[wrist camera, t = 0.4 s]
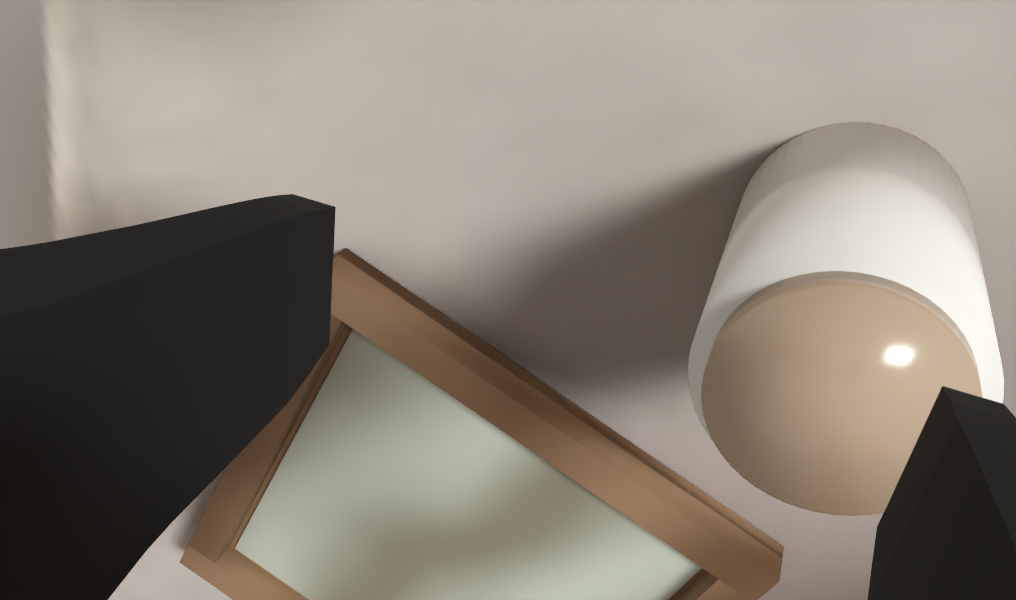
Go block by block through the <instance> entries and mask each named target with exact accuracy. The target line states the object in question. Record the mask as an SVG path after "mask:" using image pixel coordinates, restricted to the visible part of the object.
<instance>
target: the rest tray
mask: <svg viewBox="0 0 1016 600" xmlns="http://www.w3.org/2000/svg"><path fill="white" fill-rule="evenodd" d="M783 549H784V547H783V546H782V545H780V544H779V543H777V542H776V541H774V540H773V539H772V538H770V537H769V536H767V535H766V534H764V533H763V532H761V531H760V530H758V529H757V528H755V527H754V526H752V525H751V524H750V523H748V522H747V521H745V520H744V519H742V518H741V517H739V516H738V515H736V514H735V513H733V512H732V511H731V510H729V509H728V508H726V507H725V506H723V505H722V504H720V503H719V502H717V501H716V500H714V499H713V498H711V497H710V496H709V495H707V494H706V493H704V492H703V491H701V490H700V489H698V488H697V487H695V486H694V485H692V484H691V483H690V482H688V481H687V480H685V479H684V478H682V477H681V476H679V475H678V474H676V473H675V472H673V471H672V470H670V469H669V468H668V467H666V466H665V465H663V464H662V463H660V462H659V461H657V460H656V459H654V458H653V457H651V456H650V455H649V454H647V453H646V452H644V451H643V450H641V449H640V448H638V447H637V446H635V445H634V444H632V443H631V442H629V441H628V440H627V439H625V438H624V437H622V436H621V435H619V434H618V433H616V432H615V431H613V430H612V429H610V428H609V427H608V426H606V425H605V424H603V423H602V422H600V421H599V420H597V419H596V418H594V417H593V416H591V415H590V414H588V413H587V412H586V411H584V410H583V409H581V408H580V407H578V406H577V405H575V404H574V403H572V402H571V401H569V400H568V399H567V398H565V397H564V396H562V395H561V394H559V393H558V392H556V391H555V390H553V389H552V388H550V387H549V386H548V385H546V384H545V383H543V382H542V381H540V380H539V379H537V378H536V377H534V376H533V375H531V374H530V373H528V372H527V371H526V370H524V369H523V368H521V367H520V366H518V365H517V364H515V363H514V362H512V361H511V360H509V359H508V358H507V357H505V356H504V355H502V354H501V353H499V352H498V351H496V350H495V349H493V348H492V347H490V346H489V345H487V344H486V343H485V342H483V341H482V340H480V339H479V338H477V337H476V336H474V335H473V334H471V333H470V332H468V331H467V330H466V329H464V328H463V327H461V326H460V325H458V324H457V323H455V322H454V321H452V320H451V319H449V318H448V317H446V316H445V315H444V314H442V313H441V312H439V311H438V310H436V309H435V308H433V307H432V306H430V305H429V304H427V303H426V302H425V301H423V300H422V299H420V298H419V297H417V296H416V295H414V294H413V293H411V292H410V291H408V290H407V289H405V288H404V287H403V286H401V285H400V284H398V283H397V282H395V281H394V280H392V279H391V278H389V277H388V276H386V275H385V274H384V273H382V272H381V271H379V270H378V269H376V268H375V267H373V266H372V265H370V264H369V263H367V262H366V261H364V260H363V259H362V258H360V257H359V256H357V255H356V254H354V253H353V252H351V251H350V250H348V249H347V248H345V249H344V250H343V251H342V252H341V253H340V254H338V255H337V256H336V257H335V258H334V259H333V274H332V297H331V320H330V343H329V346H328V348H327V349H326V351H325V352H324V353H323V355H322V356H321V358H320V359H319V361H318V362H317V364H316V365H315V366H314V368H313V369H312V371H311V372H310V374H309V375H308V377H307V378H306V379H305V381H304V382H303V383H302V385H301V386H300V387H299V389H298V390H297V391H296V393H295V394H294V395H293V397H292V398H291V399H290V401H289V402H288V403H287V404H286V405H285V406H284V408H283V409H282V410H281V411H280V412H279V413H278V414H277V415H276V416H275V417H274V418H273V419H272V420H271V421H270V422H269V423H268V424H267V425H266V426H265V428H264V429H263V430H262V431H261V432H260V433H259V434H258V435H257V436H256V437H255V438H254V439H253V440H252V441H251V442H250V443H249V444H248V445H247V446H246V447H245V448H244V449H243V450H242V451H241V452H240V453H239V454H238V455H237V456H236V457H235V458H234V459H233V460H232V461H231V462H230V463H229V464H228V465H227V467H226V468H225V470H224V472H223V474H222V476H221V478H220V480H219V482H218V484H217V486H216V488H215V490H214V492H213V495H212V497H211V499H210V501H209V503H208V505H207V507H206V509H205V511H204V513H203V515H202V517H201V519H200V521H199V523H198V525H197V527H196V530H195V532H194V534H193V536H192V538H191V540H190V542H189V544H188V546H187V548H186V550H185V552H184V554H183V556H182V558H181V560H180V563H181V564H183V565H184V566H186V567H187V568H188V569H190V570H191V571H193V572H194V573H196V574H197V575H199V576H200V577H201V578H203V579H204V580H206V581H207V582H209V583H210V584H211V585H213V586H214V587H216V588H217V589H219V590H220V591H222V592H223V593H224V594H226V595H227V596H229V597H230V598H232V599H233V600H758V599H759V598H760V597H761V596H762V595H764V594H765V593H766V592H767V591H768V590H770V589H771V588H772V587H773V586H774V585H775V584H777V583H778V582H779V579H780V572H781V564H782V557H783Z"/></svg>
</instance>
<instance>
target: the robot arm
mask: <svg viewBox="0 0 1016 600" xmlns="http://www.w3.org/2000/svg"><path fill="white" fill-rule="evenodd" d="M334 227H335V207H334V206H330V205H327V204H323V203H320V202H317V201H313V200H310V199H306V198H303V197H300V196H296V195H293V194H290V195H279V196H271V197H264V198H258V199H253V200H248V201H243V202H238V203H233V204H228V205H224V206H219V207H215V208H210V209H206V210H201V211H197V212H193V213H188V214H184V215H179V216H175V217H170V218H166V219H162V220H157V221H153V222H148V223H144V224H139V225H135V226H130V227H125V228H119V229H114V230H109V231H104V232H99V233H94V234H88V235H83V236H78V237H73V238H68V239H63V240H58V241H52V242H46V243H40V244H35V245H28V246H21V247H14V248H7V249H0V600H108V598H109V597H110V596H111V595H112V593H113V592H114V591H115V590H116V588H117V587H118V586H119V584H120V583H121V582H122V581H123V579H124V578H125V577H126V576H127V574H128V573H129V572H130V571H131V569H132V568H133V567H134V565H135V564H136V563H137V562H138V560H139V559H140V558H141V557H142V555H143V554H144V553H145V552H146V550H147V549H148V548H149V547H150V546H151V545H152V544H153V542H154V541H155V540H156V539H157V538H158V537H159V536H160V535H161V534H162V532H163V531H164V530H165V529H166V528H167V527H168V526H169V525H170V524H171V522H172V521H173V520H174V519H175V518H176V517H177V516H178V515H179V514H180V513H181V512H182V511H183V510H184V509H185V508H186V507H187V506H188V505H189V504H190V503H191V502H192V501H193V500H194V499H195V498H196V497H197V496H198V495H199V494H200V493H201V492H202V491H203V490H204V489H205V488H206V487H207V486H208V485H209V484H210V483H211V482H212V481H213V480H214V479H215V478H216V477H217V476H218V475H219V474H220V473H221V472H222V471H223V470H224V469H225V468H226V467H227V465H228V464H229V463H230V462H231V461H232V460H233V459H234V458H235V457H236V456H237V455H238V454H239V453H240V452H241V451H242V450H243V449H244V448H245V447H246V446H247V445H248V444H249V443H250V442H251V441H252V440H253V439H254V438H255V437H256V436H257V435H258V434H259V433H260V432H261V431H262V430H263V429H264V428H265V426H266V425H267V424H268V423H269V422H270V421H271V420H272V419H273V418H274V417H275V416H276V415H277V414H278V413H279V412H280V411H281V410H282V409H283V408H284V406H285V405H286V404H287V403H288V402H289V401H290V399H291V398H292V397H293V395H294V394H295V393H296V391H297V390H298V389H299V387H300V386H301V385H302V383H303V382H304V381H305V379H306V378H307V377H308V375H309V374H310V372H311V371H312V369H313V368H314V366H315V365H316V364H317V362H318V361H319V359H320V358H321V356H322V355H323V353H324V352H325V351H326V349H327V348H328V346H329V343H330V320H331V297H332V274H333V251H334ZM868 600H1016V418H1015V416H1014V415H1013V414H1012V413H1011V412H1010V411H1009V409H1008V408H1007V407H1006V406H1005V405H1004V404H1002V403H999V402H995V401H992V400H989V399H985V398H982V397H979V396H975V395H972V394H968V393H965V392H962V391H958V390H955V389H951V388H948V387H945V386H942V388H941V390H940V392H939V394H938V396H937V399H936V401H935V403H934V405H933V407H932V409H931V412H930V414H929V416H928V418H927V420H926V422H925V425H924V427H923V429H922V431H921V433H920V435H919V438H918V440H917V442H916V444H915V446H914V448H913V451H912V453H911V455H910V457H909V459H908V462H907V464H906V466H905V468H904V470H903V472H902V475H901V477H900V479H899V481H898V483H897V485H896V488H895V490H894V492H893V494H892V496H891V498H890V501H889V503H888V505H887V507H886V509H885V511H884V514H883V516H882V518H881V520H880V522H879V524H878V527H877V532H876V540H875V547H874V554H873V562H872V569H871V577H870V586H869V595H868Z"/></svg>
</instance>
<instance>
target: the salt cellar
mask: <svg viewBox="0 0 1016 600" xmlns="http://www.w3.org/2000/svg"><path fill="white" fill-rule="evenodd" d="M688 382H689V388H690V395H691V398H692V402H693V405H694V408H695V411H696V413H697V415H698V417H699V420H700V422H701V424H702V426H703V427H704V429H705V430H706V432H707V434H708V435H709V437H710V438H711V440H712V441H713V442H714V444H715V445H716V447H717V448H718V450H719V451H720V453H721V454H722V456H723V457H724V458H725V459H726V461H727V462H728V463H729V464H730V465H731V466H732V467H733V468H734V469H735V470H736V471H737V472H738V473H739V474H740V475H741V476H742V477H743V478H745V479H746V480H747V481H748V482H750V483H751V484H752V485H754V486H755V487H757V488H758V489H760V490H762V491H763V492H765V493H767V494H768V495H770V496H772V497H774V498H776V499H778V500H781V501H783V502H785V503H788V504H791V505H793V506H796V507H799V508H802V509H806V510H810V511H814V512H819V513H826V514H832V515H848V516H855V515H871V514H878V513H884V511H885V509H886V507H887V505H888V503H889V501H890V498H891V496H892V494H893V492H894V490H895V488H896V485H897V483H898V481H899V479H900V477H901V475H902V472H903V470H904V468H905V466H906V464H907V462H908V459H909V457H910V455H911V453H912V451H913V448H914V446H915V444H916V442H917V440H918V438H919V435H920V433H921V431H922V429H923V427H924V425H925V422H926V420H927V418H928V416H929V414H930V412H931V409H932V407H933V405H934V403H935V401H936V399H937V396H938V394H939V392H940V390H941V388H942V386H945V387H948V388H951V389H955V390H958V391H962V392H965V393H968V394H972V395H975V396H979V397H982V398H985V399H989V400H992V401H995V402H999V403H1002V402H1003V397H1004V376H1003V370H1002V363H1001V358H1000V353H999V348H998V343H997V338H996V333H995V328H994V323H993V318H992V314H991V309H990V304H989V299H988V294H987V289H986V284H985V279H984V274H983V269H982V264H981V259H980V254H979V249H978V244H977V239H976V234H975V230H974V225H973V220H972V215H971V210H970V205H969V200H968V197H967V194H966V191H965V188H964V186H963V184H962V182H961V180H960V178H959V176H958V174H957V173H956V172H955V170H954V169H953V168H952V166H951V165H950V163H949V162H948V161H947V160H946V159H945V158H944V157H943V156H942V155H941V154H940V153H939V152H938V151H937V150H935V149H934V148H933V147H931V146H930V145H929V144H927V143H926V142H924V141H923V140H921V139H919V138H917V137H916V136H914V135H912V134H909V133H907V132H904V131H902V130H900V129H896V128H893V127H889V126H885V125H880V124H873V123H859V122H850V123H840V124H833V125H828V126H824V127H819V128H817V129H814V130H811V131H808V132H805V133H803V134H801V135H799V136H797V137H795V138H793V139H791V140H790V141H788V142H786V143H785V144H783V145H782V146H780V147H779V148H778V149H777V150H775V151H774V152H773V153H772V154H771V155H770V156H768V157H767V158H766V160H765V161H764V162H763V163H762V164H761V165H760V166H759V167H758V169H757V170H756V172H755V173H754V175H753V176H752V178H751V179H750V181H749V183H748V185H747V187H746V189H745V191H744V194H743V197H742V200H741V203H740V206H739V208H738V211H737V214H736V217H735V220H734V223H733V226H732V229H731V232H730V235H729V237H728V240H727V243H726V246H725V249H724V252H723V255H722V258H721V261H720V263H719V266H718V269H717V272H716V275H715V278H714V281H713V284H712V287H711V290H710V292H709V295H708V298H707V301H706V304H705V307H704V310H703V313H702V316H701V319H700V321H699V324H698V327H697V330H696V333H695V336H694V339H693V342H692V345H691V349H690V355H689V361H688Z"/></svg>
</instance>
